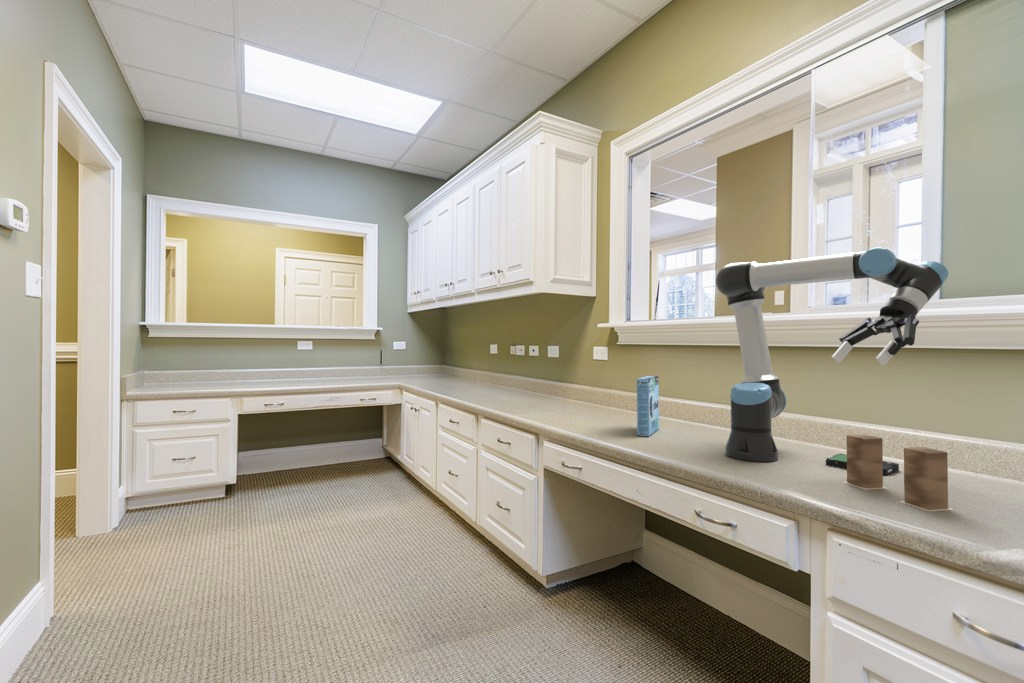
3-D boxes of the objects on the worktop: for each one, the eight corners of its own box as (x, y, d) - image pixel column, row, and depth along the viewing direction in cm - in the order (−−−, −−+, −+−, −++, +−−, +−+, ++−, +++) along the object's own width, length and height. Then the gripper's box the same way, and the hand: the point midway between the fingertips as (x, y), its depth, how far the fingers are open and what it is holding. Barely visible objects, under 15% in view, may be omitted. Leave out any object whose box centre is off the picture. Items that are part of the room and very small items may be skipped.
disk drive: (899, 473, 130) (839, 461, 142) (899, 463, 130) (839, 452, 142) (886, 479, 124) (824, 466, 136) (886, 469, 124) (825, 457, 136)
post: (847, 482, 115) (846, 435, 115) (864, 481, 116) (863, 434, 116) (865, 488, 110) (864, 439, 110) (882, 487, 111) (882, 438, 111)
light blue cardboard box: (649, 437, 178) (648, 379, 178) (636, 436, 181) (635, 378, 181) (659, 429, 195) (659, 375, 195) (647, 428, 198) (647, 375, 198)
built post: (904, 501, 101) (903, 447, 101) (923, 500, 102) (922, 447, 102) (928, 510, 96) (927, 453, 96) (948, 508, 97) (947, 452, 97)
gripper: (960, 313, 115) (911, 373, 113) (869, 318, 140) (827, 368, 138) (943, 292, 115) (892, 352, 112) (854, 301, 139) (811, 350, 137)
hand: (856, 361), depth 125 cm, fingers open, 13 cm apart
